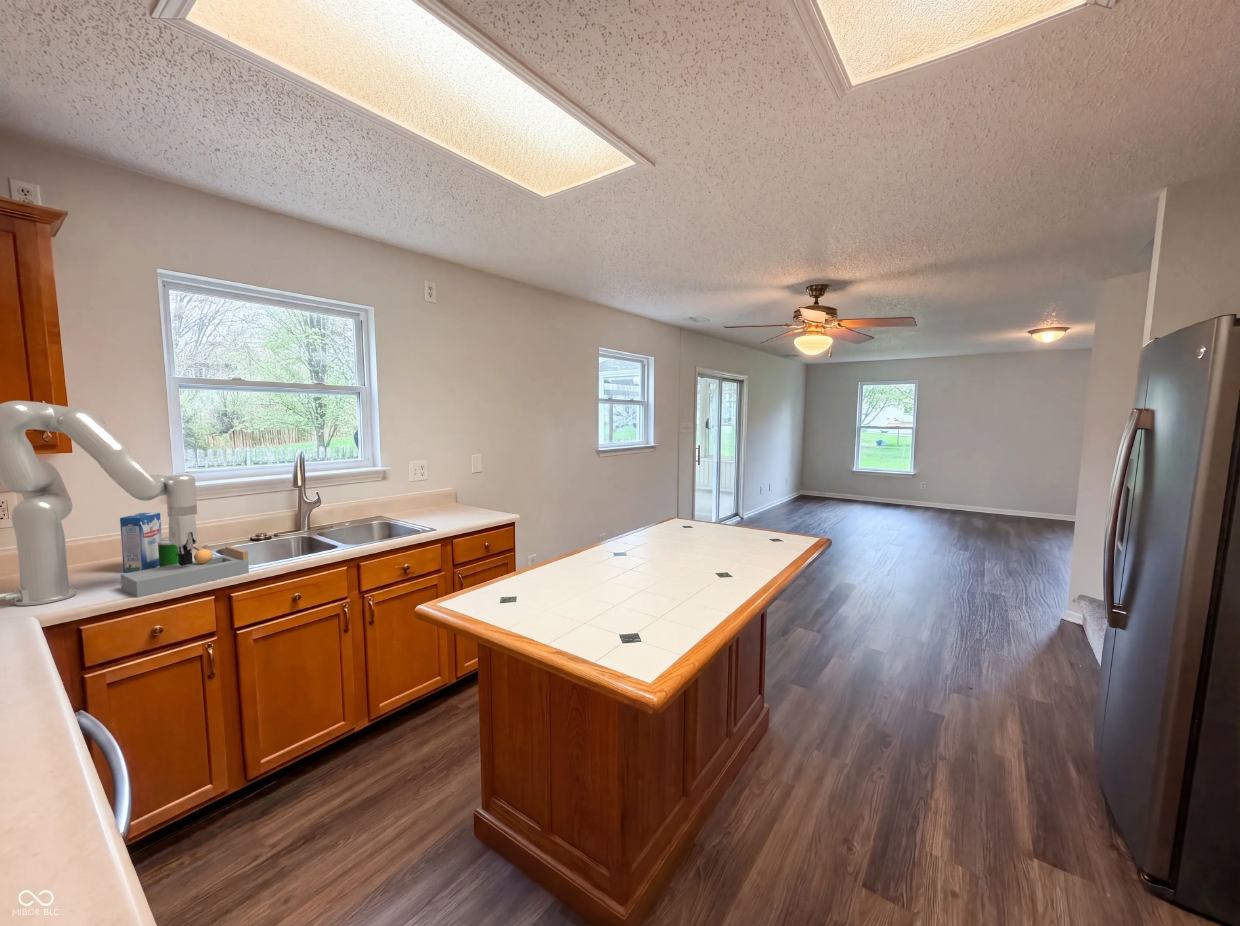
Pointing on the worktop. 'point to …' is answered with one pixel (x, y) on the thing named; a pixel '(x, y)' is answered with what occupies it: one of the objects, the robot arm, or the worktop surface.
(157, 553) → the milk carton
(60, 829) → the worktop surface
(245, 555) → the grey long boxy piece
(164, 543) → the soda can
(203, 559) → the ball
